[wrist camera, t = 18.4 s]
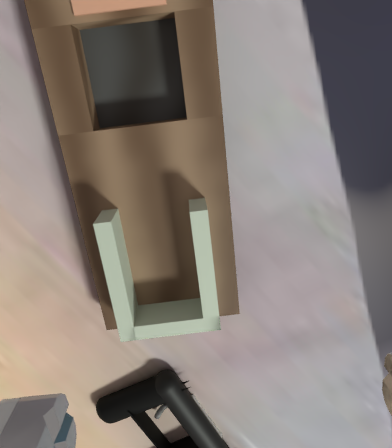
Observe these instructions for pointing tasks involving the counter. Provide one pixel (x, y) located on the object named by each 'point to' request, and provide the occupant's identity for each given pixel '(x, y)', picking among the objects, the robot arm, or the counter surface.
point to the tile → (110, 5)
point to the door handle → (170, 397)
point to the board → (142, 138)
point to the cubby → (166, 311)
